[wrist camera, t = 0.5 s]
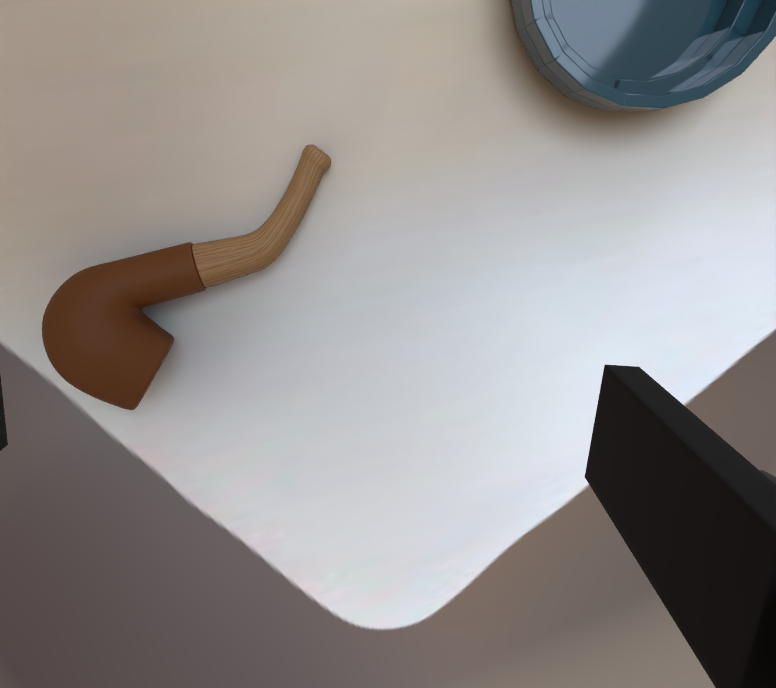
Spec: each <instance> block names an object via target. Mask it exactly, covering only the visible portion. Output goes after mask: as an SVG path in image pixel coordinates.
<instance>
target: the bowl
mask: <svg viewBox="0 0 776 688" xmlns="http://www.w3.org/2000/svg"><path fill="white" fill-rule="evenodd" d="M511 2H512V8H513V13H514V18H515V24H516V29H517V33H518V36H519V38H520V40H521V42H522V43H523V45H524V47H525V49H526V51H527V53H528V55H529V57H530V58H531V60H532V62H533V64H534V66H535V68H536V69H537V71H539V72H540V73H541V74H542V75H543V76H544V77H545V78H546V79H547V80H548V81H549V82H550V83H551V84H552V85H553V86H555V87H556V88H557V89H558V90H559V91H560V92H561V93H562V94H563V95H565V96H567V97H569V98H571V99H574V100H576V101H578V102H581V103H583V104H585V105H588V106H590V107H592V108H594V109H599V110H608V111H624V112H639V111H646V110H655V109H663V108H667V107H671V106H675V105H678V104H682V103H686V102H689V101H693V100H697V99H701V98H704V97H706V96H707V95H709V94H711V93H712V92H714V91H715V90H717V89H719V88H720V87H722V86H723V85H725V84H726V83H728V82H730V81H731V80H733V79H734V78H736V77H738V76H739V75H741V74H742V73H743V72H744V71H745V70H746V69H747V68H748V67H749V66H750V65H751V63H752V62H753V61H754V60H755V59H756V58H757V57H758V56H759V55H760V53H761V52H762V51H763V50H764V49H765V48H766V47H767V46H768V45H769V43H770V42H771V41H772V40H773V39H774V37H775V36H776V0H511Z"/></svg>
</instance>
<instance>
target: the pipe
mask: <svg viewBox="0 0 776 688" xmlns="http://www.w3.org/2000/svg"><path fill="white" fill-rule="evenodd" d="M330 165H331V158H330V157H329V156H328V155H327V154H325V153H324V152H323V151H322V150H320V149H319V148H317V147H316V146H314V145H307V146H306V147H305V148H304V150H303V153H302V156H301V159H300V162H299V164H298V166H297V169H296V171H295V173H294V176H293V178H292V180H291V182H290V184H289V186H288V188H287V190H286V192H285V194H284V196H283V198H282V199H281V201H280V203H279V204H278V206H277V208H276V209H275V211H274V212H273V213H272V215H271V216H270V217H269V219H268V220H267V221H266V222H265V223H264V224H263V225H262V226H261V227H260V228H259V229H257V230H256V231H255V232H253V233H250V234H247V235H243V236H238V237H233V238H228V239H222V240H216V241H210V242H203V243H197V244H192V243H185V244H181V245H177V246H173V247H169V248H165V249H161V250H157V251H153V252H149V253H145V254H141V255H137V256H133V257H129V258H125V259H121V260H118V261H113V262H109V263H104V264H100V265H96V266H92V267H89V268H86V269H84V270H82V271H80V272H78V273H76V274H75V275H73V276H72V277H70V278H69V279H68V280H67V281H65V282H64V283H63V284H62V285H61V286H60V287H59V289H58V290H57V291H56V292H55V294H54V295H53V296H52V298H51V300H50V301H49V303H48V305H47V307H46V310H45V313H44V316H43V322H42V337H43V343H44V347H45V350H46V353H47V356H48V358H49V360H50V362H51V364H52V365H53V367H54V368H55V370H56V371H57V372H58V373H59V374H60V375H61V376H62V377H63V378H64V379H65V380H66V381H67V382H69V383H70V384H71V385H73V386H74V387H76V388H77V389H79V390H81V391H83V392H85V393H87V394H89V395H91V396H93V397H95V398H97V399H100V400H102V401H105V402H107V403H110V404H112V405H115V406H118V407H121V408H124V409H128V410H134V409H135V408H136V407H137V406H138V404H139V403H140V401H141V399H142V398H143V396H144V394H145V393H146V391H147V389H148V387H149V386H150V384H151V382H152V380H153V379H154V377H155V375H156V373H157V371H158V370H159V368H160V366H161V364H162V363H163V361H164V359H165V357H166V355H167V353H168V352H169V350H170V348H171V346H172V344H173V341H174V337H173V336H172V335H171V334H169V333H168V332H166V331H165V330H164V329H162V328H161V327H160V326H158V325H157V324H156V323H155V322H154V321H152V320H151V319H150V318H148V317H147V316H146V315H145V314H144V313H143V312H142V311H141V309H140V308H143V307H146V306H150V305H154V304H157V303H161V302H164V301H168V300H172V299H175V298H179V297H182V296H186V295H190V294H193V293H197V292H200V291H204V290H206V287H209V286H213V285H216V284H219V283H223V282H226V281H230V280H233V279H236V278H239V277H242V276H245V275H248V274H251V273H254V272H257V271H259V270H261V269H263V268H265V267H267V266H269V265H270V264H271V263H272V262H273V261H274V260H275V259H276V258H277V257H278V256H279V255H280V254H281V252H282V251H283V250H284V248H285V247H286V245H287V244H288V242H289V240H290V239H291V237H292V236H293V234H294V232H295V230H296V229H297V227H298V225H299V223H300V222H301V220H302V218H303V216H304V214H305V212H306V210H307V208H308V206H309V204H310V202H311V200H312V198H313V195H314V193H315V191H316V189H317V186H318V184H319V182H320V179H321V177H322V174H323V172H324V171H326V170H328V169H329V167H330Z"/></svg>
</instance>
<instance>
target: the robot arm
mask: <svg viewBox="0 0 776 688" xmlns="http://www.w3.org/2000/svg"><path fill="white" fill-rule="evenodd" d="M7 445H8V443H7V433H6V424H5V415H4V406H3V397H2V387H1V377H0V451H1V450H2V449H3V448H4V447H5V446H7ZM585 478H586V480H587V481H588V483H589V485H590V486H591V488H592V489H593V491H594V493H595V494H596V496H597V497H598V499H599V501H600V502H601V504H602V505H603V507H604V509H605V510H606V512H607V513H608V515H609V517H610V518H611V520H612V522H613V523H614V525H615V526H616V528H617V529H618V531H619V533H620V534H621V536H622V538H623V539H624V541H625V542H626V544H627V546H628V547H629V549H630V550H631V552H632V553H633V555H634V557H635V558H636V560H637V562H638V563H639V564H640V567H641V568H642V570H643V571H644V573H645V574H646V576H647V578H648V579H649V581H650V583H651V584H652V586H653V588H654V589H655V590H656V592H657V594H658V595H659V597H660V599H661V600H662V602H663V604H664V605H665V607H666V608H667V610H668V611H669V613H670V615H671V616H672V618H673V620H674V621H675V622H676V624H677V626H678V628H679V629H680V631H681V632H682V634H683V636H684V637H685V639H686V641H687V642H688V644H689V645H690V647H691V649H692V650H693V652H694V653H695V655H696V657H697V658H698V660H699V661H700V663H701V665H702V666H703V668H704V670H705V671H706V673H707V674H708V676H709V678H710V679H711V681H712V682H713V684H714V686H715V687H716V688H776V477H775V476H773V475H771V474H769V473H767V472H765V471H763V470H758V469H757V468H756V467H755V466H753V465H752V464H751V463H750V462H748V460H746V459H745V458H744V457H743V456H742V455H740V454H739V453H738V452H737V451H736V450H735V449H734V448H733V447H731V446H730V445H729V444H728V443H727V442H726V441H724V440H723V439H722V438H721V437H720V436H718V435H717V434H716V433H715V432H714V431H713V430H712V429H710V428H709V427H708V426H707V425H706V424H705V423H704V422H702V421H701V420H700V419H699V418H698V417H697V416H695V415H694V414H693V413H692V412H691V411H690V410H688V409H687V408H686V407H685V406H684V405H683V404H681V403H680V402H679V401H678V400H677V399H676V398H675V397H673V396H672V395H671V394H670V393H669V392H668V391H666V390H665V389H664V388H663V387H662V386H661V385H659V384H658V383H657V382H656V381H655V380H654V379H652V378H651V377H650V376H649V375H648V374H647V373H646V372H644V371H643V370H642V369H641V368H640V367H633V366H617V365H605V366H604V372H603V378H602V383H601V389H600V394H599V400H598V406H597V411H596V417H595V422H594V428H593V434H592V439H591V445H590V451H589V456H588V462H587V467H586V473H585Z"/></svg>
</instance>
